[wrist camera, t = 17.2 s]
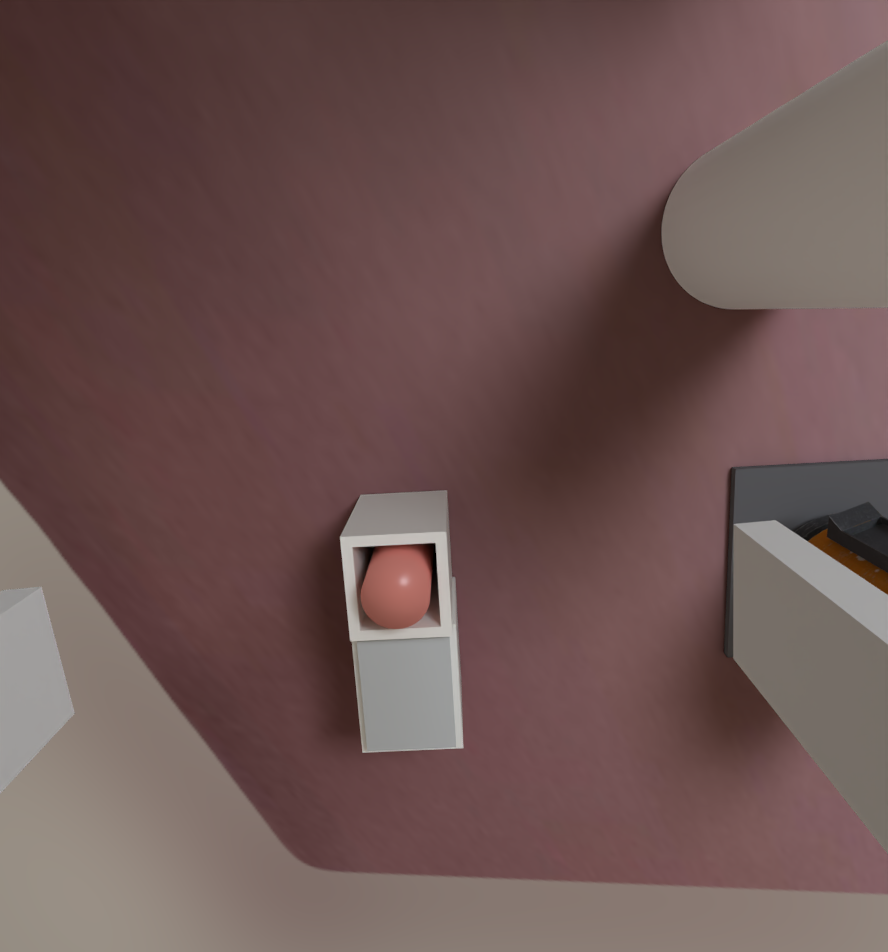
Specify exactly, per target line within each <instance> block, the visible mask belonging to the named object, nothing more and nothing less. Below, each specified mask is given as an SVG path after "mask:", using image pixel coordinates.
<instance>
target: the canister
mask: <svg viewBox="0 0 888 952" xmlns="http://www.w3.org/2000/svg"><path fill="white" fill-rule="evenodd" d="M794 533H796V534H797V535H799V536H800V537H802V538H803V539H805V540H806V541H808V542H809V543H811V544H812V545H814V546H815V547H817V548H818V549H820V550H821V551H823V552H824V553H826V554H827V555H829V556H830V557H832V558H833V559H835V560H836V561H838V562H839V563H841V564H842V565H844V566H845V567H847V568H848V569H850V570H851V571H853V572H854V573H856V574H857V575H859V576H860V577H862V578H863V579H865V580H866V581H868V582H869V583H871V584H872V585H874V586H875V587H877V588H878V589H880V590H881V591H883V592H884V593H886V594H887V595H888V518H886V517H884V516H882V515H881V514H880V513H879V512H878V511H877V510H876V509H875V508H874V507H873V505H872V504H871V503H870V502H869V501H868V502H866V503H863V504H861V505H858V506H855V507H853V508H850V509H847V510H845V511H842V512H839V513H834V514H829V515H825V516H822V517H819V518H817V519H814V520H812V521H810V522H808V523H806V524H805V525H803V526H802V527H800V528H799V529H797V530H796V531H795V532H794Z"/></svg>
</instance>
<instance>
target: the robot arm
mask: <svg viewBox="0 0 888 952" xmlns="http://www.w3.org/2000/svg"><path fill="white" fill-rule="evenodd" d="M733 659H734V660H735V661H736V663H737V664H738V665H739V666H740V668H741V669H742V670H743V672H744V673H745V674H746V675H747V677H748V678H749V679H750V680H751V682H752V683H753V684H754V685H755V687H756V688H757V689H758V690H759V692H760V693H761V694H762V696H763V697H764V698H765V699H766V701H767V702H768V703H769V704H770V706H771V707H772V708H773V709H774V711H775V712H776V713H777V714H778V716H779V717H780V718H781V720H782V721H783V722H784V723H785V725H786V726H787V727H788V728H789V730H790V731H791V732H792V733H793V735H794V736H795V737H796V738H797V740H798V741H799V742H800V744H801V745H802V746H803V747H804V749H805V750H806V751H807V752H808V754H809V755H810V756H811V757H812V759H813V760H814V761H815V762H816V764H817V765H818V766H819V768H820V769H821V770H822V771H823V773H824V774H825V775H826V776H827V778H828V779H829V780H830V781H831V783H832V784H833V785H834V786H835V788H836V789H837V790H838V792H839V793H840V794H841V795H842V797H843V798H844V799H845V800H846V802H847V803H848V804H849V805H850V807H851V808H852V809H853V810H854V812H855V813H856V814H857V816H858V817H859V818H860V819H861V821H862V822H863V823H864V824H865V826H866V827H867V828H868V829H869V831H870V832H871V833H872V834H873V836H874V837H875V838H876V840H877V841H878V842H879V843H880V845H881V846H882V847H883V848H884V850H885V851H886V852H887V853H888V595H887V594H886V593H884V592H883V591H881V590H880V589H878V588H877V587H875V586H874V585H872V584H871V583H869V582H868V581H866V580H865V579H863V578H862V577H860V576H859V575H857V574H856V573H854V572H853V571H851V570H850V569H848V568H847V567H845V566H844V565H842V564H841V563H839V562H838V561H836V560H835V559H833V558H832V557H830V556H829V555H827V554H826V553H824V552H823V551H821V550H820V549H818V548H817V547H815V546H814V545H812V544H811V543H809V542H808V541H806V540H805V539H803V538H802V537H800V536H799V535H797V534H796V533H794V532H793V531H791V530H790V529H788V528H787V527H785V526H784V525H782V524H781V523H779V522H778V521H776V520H772V521H761V522H750V523H738V524H734V545H733ZM73 714H75V713H74V709H73V705H72V701H71V697H70V694H69V690H68V686H67V682H66V678H65V674H64V671H63V667H62V663H61V659H60V656H59V652H58V648H57V644H56V640H55V636H54V633H53V629H52V625H51V621H50V617H49V613H48V610H47V606H46V602H45V598H44V595H43V591H42V588H41V587H33V588H22V589H10V590H3V591H1V592H0V793H1V792H2V791H3V790H4V789H5V788H6V787H7V786H8V785H9V784H10V783H11V781H12V780H13V779H14V778H15V777H16V776H17V775H18V774H19V773H20V772H21V770H23V769H24V767H25V766H26V765H27V764H28V763H29V762H30V761H31V760H32V759H33V758H34V757H35V756H36V755H37V754H38V752H39V751H40V750H41V749H42V748H43V747H44V746H45V745H46V744H47V743H48V742H49V740H50V739H51V738H52V737H53V736H54V735H55V734H56V733H57V732H58V731H59V730H60V729H61V728H62V727H63V725H64V724H65V723H66V722H67V721H68V720H69V719H70V718H71V717H72V716H73Z"/></svg>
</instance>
